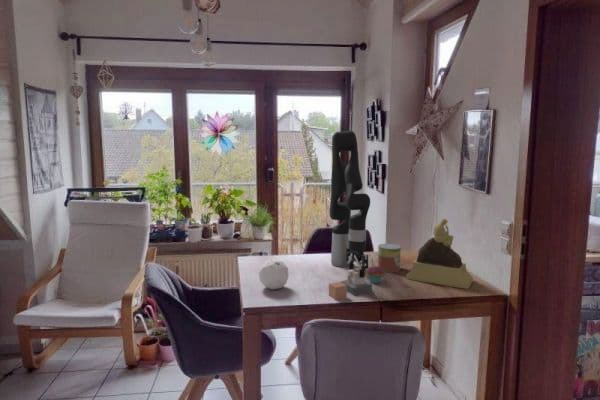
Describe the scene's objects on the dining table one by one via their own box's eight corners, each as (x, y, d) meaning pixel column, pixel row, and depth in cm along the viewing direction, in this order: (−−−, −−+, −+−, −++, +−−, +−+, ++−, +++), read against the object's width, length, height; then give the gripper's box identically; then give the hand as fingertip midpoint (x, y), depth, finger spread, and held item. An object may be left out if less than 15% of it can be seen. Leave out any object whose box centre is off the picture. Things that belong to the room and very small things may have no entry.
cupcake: (370, 285, 201) (371, 259, 199) (363, 279, 209) (363, 255, 207) (387, 283, 203) (388, 258, 201) (379, 277, 211) (380, 253, 209)
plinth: (340, 287, 198) (340, 281, 197) (359, 284, 202) (359, 278, 202) (352, 294, 189) (352, 288, 188) (371, 291, 193) (372, 284, 193)
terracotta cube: (328, 295, 188) (328, 283, 187) (339, 293, 190) (339, 281, 189) (335, 300, 183) (335, 287, 182) (346, 297, 185) (346, 285, 184)
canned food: (394, 273, 218) (394, 250, 216) (373, 269, 224) (374, 246, 223) (403, 268, 226) (404, 245, 225) (383, 264, 233) (384, 242, 231)
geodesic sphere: (301, 277, 194) (288, 250, 198) (277, 284, 184) (264, 255, 189) (283, 290, 203) (271, 263, 207) (260, 297, 194) (248, 269, 198)
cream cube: (347, 281, 196) (347, 270, 195) (357, 280, 199) (358, 268, 198) (354, 285, 191) (354, 273, 190) (364, 283, 194) (365, 271, 193)
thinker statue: (472, 281, 207) (476, 218, 203) (467, 289, 196) (471, 223, 192) (413, 271, 221) (415, 213, 217) (406, 278, 210) (408, 217, 206)
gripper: (341, 236, 197) (340, 271, 199) (359, 243, 184) (358, 280, 187) (355, 234, 200) (354, 268, 202) (373, 241, 187) (372, 277, 190)
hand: (356, 274), depth 194 cm, fingers open, 8 cm apart
